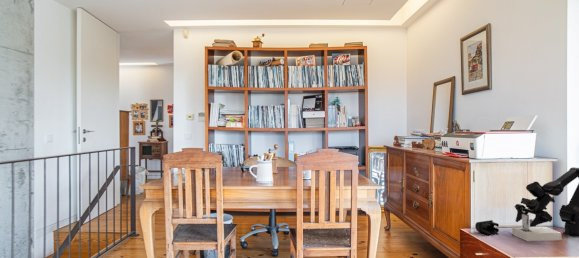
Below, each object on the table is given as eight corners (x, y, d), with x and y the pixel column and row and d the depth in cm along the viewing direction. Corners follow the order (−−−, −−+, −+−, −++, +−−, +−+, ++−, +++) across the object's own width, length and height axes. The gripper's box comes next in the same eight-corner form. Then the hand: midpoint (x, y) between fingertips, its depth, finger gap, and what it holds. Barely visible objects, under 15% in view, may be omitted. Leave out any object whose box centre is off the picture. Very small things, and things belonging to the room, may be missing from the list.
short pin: (533, 231, 178) (533, 219, 178) (537, 232, 175) (537, 220, 175) (528, 231, 178) (528, 219, 178) (532, 233, 175) (532, 220, 175)
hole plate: (544, 233, 173) (544, 226, 174) (561, 240, 162) (561, 232, 163) (512, 234, 174) (512, 227, 174) (527, 241, 163) (527, 233, 163)
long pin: (528, 236, 169) (527, 214, 169) (530, 238, 166) (529, 215, 166) (521, 236, 170) (520, 213, 170) (524, 238, 167) (523, 215, 167)
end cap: (488, 230, 182) (487, 219, 182) (499, 234, 175) (499, 222, 175) (475, 232, 179) (474, 220, 179) (486, 236, 172) (485, 224, 173)
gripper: (516, 189, 178) (499, 209, 177) (546, 196, 160) (527, 218, 158) (529, 202, 179) (513, 222, 178) (560, 210, 160) (542, 233, 159)
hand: (523, 223), depth 168 cm, fingers open, 9 cm apart
